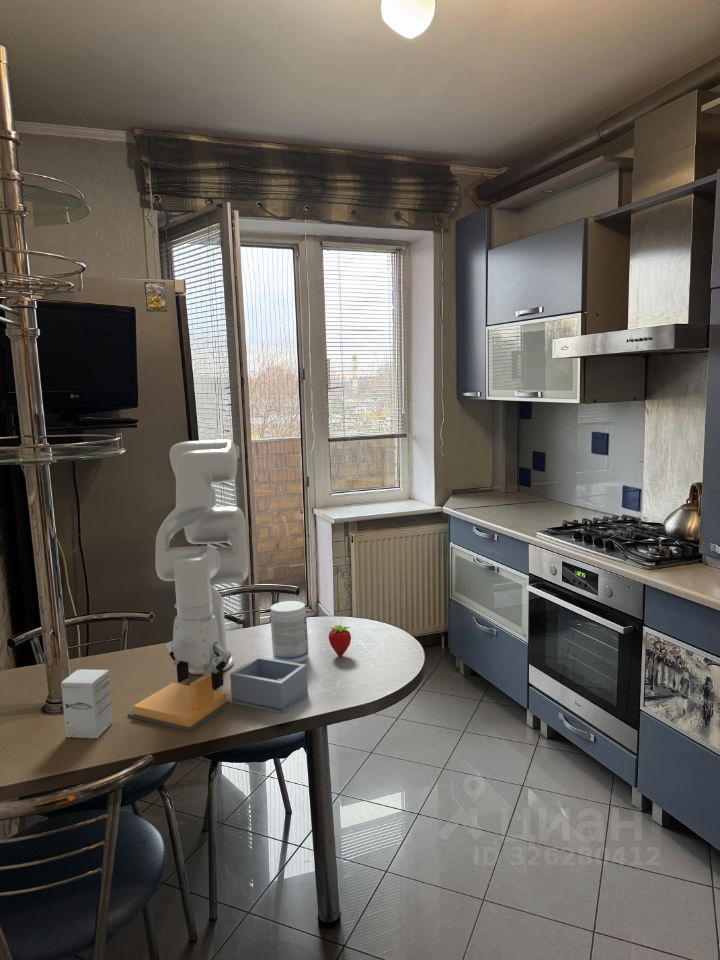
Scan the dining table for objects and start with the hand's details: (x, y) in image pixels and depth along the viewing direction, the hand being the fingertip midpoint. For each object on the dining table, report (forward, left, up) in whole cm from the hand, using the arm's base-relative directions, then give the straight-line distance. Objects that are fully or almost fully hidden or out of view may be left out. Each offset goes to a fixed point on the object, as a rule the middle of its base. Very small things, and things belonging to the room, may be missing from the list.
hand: (200, 683), depth 152 cm
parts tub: (+10, +13, -7) cm, 17 cm away
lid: (-6, 0, -6) cm, 8 cm away
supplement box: (-18, -15, -7) cm, 25 cm away
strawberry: (+14, +41, -7) cm, 44 cm away
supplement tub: (+2, +35, -7) cm, 35 cm away
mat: (-6, 0, -7) cm, 9 cm away
